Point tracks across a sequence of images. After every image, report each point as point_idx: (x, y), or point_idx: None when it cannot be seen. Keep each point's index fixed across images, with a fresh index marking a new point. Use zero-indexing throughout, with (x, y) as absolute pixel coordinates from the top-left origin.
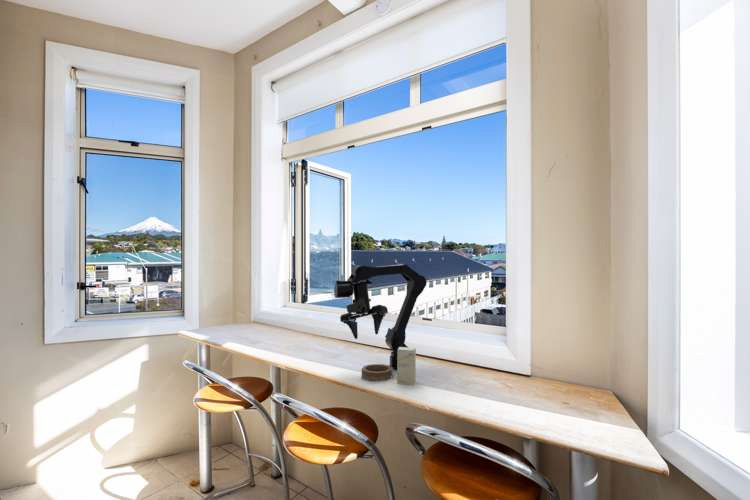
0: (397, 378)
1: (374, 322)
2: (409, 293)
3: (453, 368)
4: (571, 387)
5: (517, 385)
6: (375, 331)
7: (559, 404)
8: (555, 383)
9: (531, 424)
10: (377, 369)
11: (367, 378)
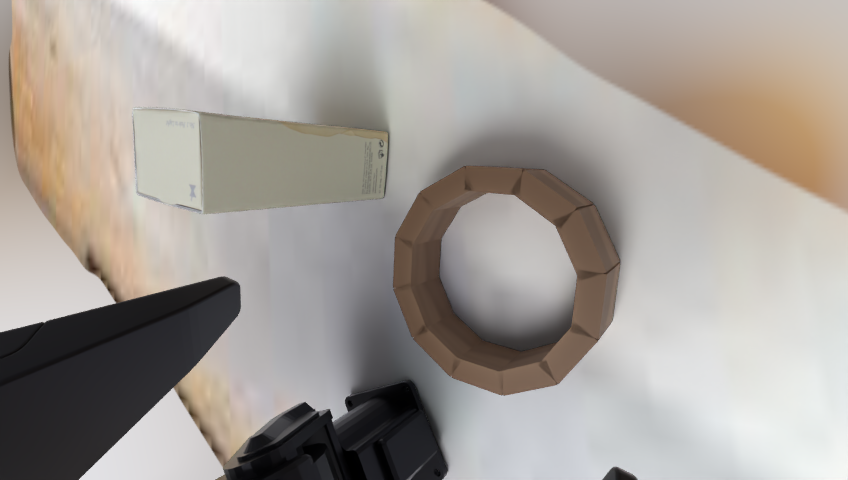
0: (369, 130)
1: (3, 365)
2: None
3: (215, 366)
4: (46, 169)
5: (102, 171)
6: (198, 291)
7: (58, 33)
8: (60, 197)
9: None
10: (502, 356)
11: (564, 185)
